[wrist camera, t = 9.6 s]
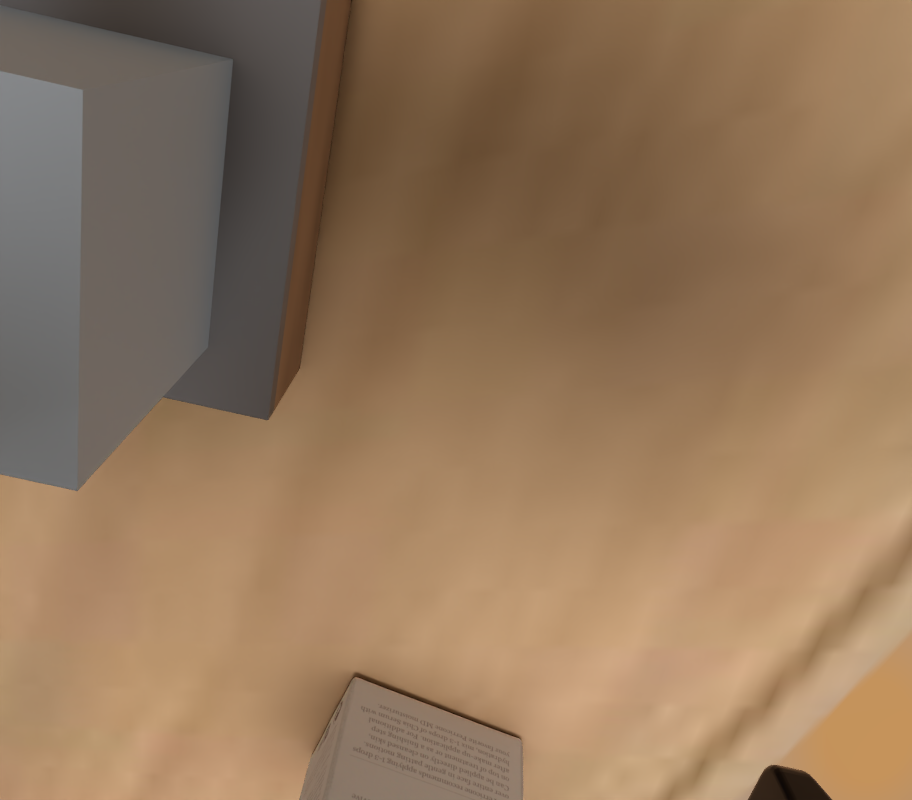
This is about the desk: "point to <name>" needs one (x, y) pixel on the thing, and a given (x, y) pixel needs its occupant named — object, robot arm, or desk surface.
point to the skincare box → (409, 753)
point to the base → (251, 174)
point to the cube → (100, 234)
